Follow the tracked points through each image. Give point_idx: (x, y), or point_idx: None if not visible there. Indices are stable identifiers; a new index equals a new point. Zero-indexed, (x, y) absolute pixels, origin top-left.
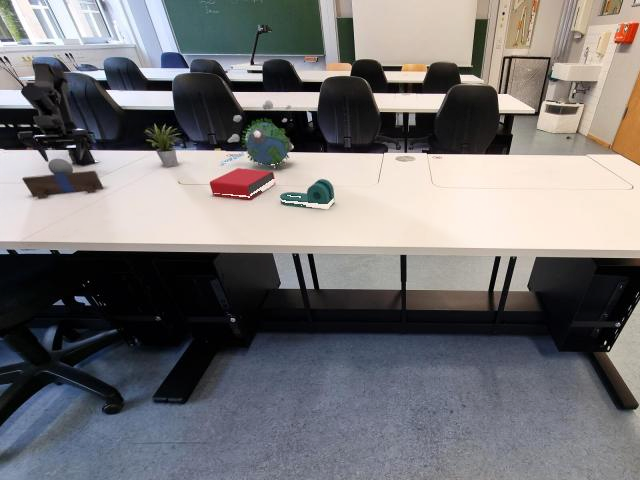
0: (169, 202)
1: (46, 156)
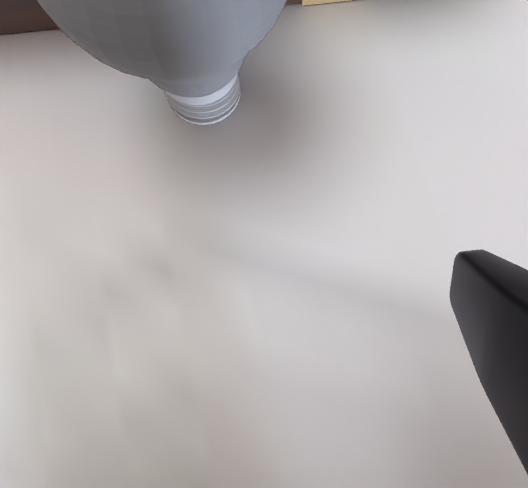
0: None
1: (513, 389)
